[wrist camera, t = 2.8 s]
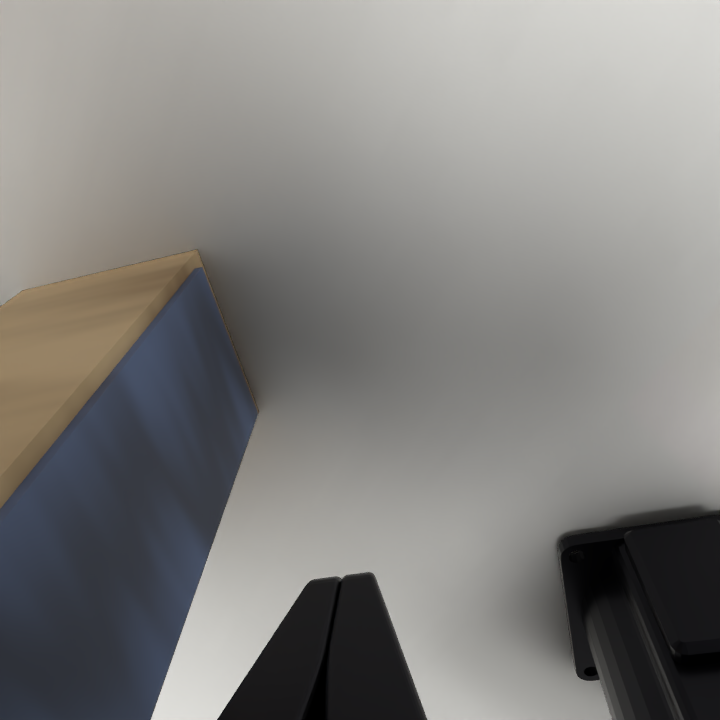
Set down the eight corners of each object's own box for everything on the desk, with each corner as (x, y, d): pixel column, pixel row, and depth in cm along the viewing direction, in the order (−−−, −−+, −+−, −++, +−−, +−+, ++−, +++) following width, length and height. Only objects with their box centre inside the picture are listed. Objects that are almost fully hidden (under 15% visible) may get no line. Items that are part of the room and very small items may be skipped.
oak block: (265, 410, 18) (86, 942, 8) (102, 441, 19) (-260, 959, 9) (204, 247, 16) (-163, 684, 6) (22, 290, 17) (-600, 740, 6)
